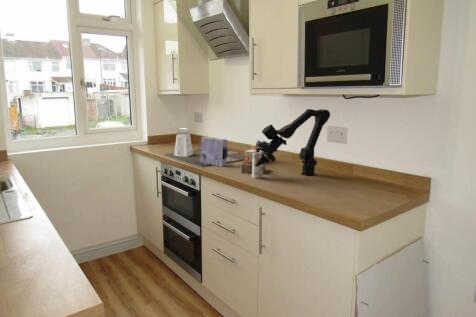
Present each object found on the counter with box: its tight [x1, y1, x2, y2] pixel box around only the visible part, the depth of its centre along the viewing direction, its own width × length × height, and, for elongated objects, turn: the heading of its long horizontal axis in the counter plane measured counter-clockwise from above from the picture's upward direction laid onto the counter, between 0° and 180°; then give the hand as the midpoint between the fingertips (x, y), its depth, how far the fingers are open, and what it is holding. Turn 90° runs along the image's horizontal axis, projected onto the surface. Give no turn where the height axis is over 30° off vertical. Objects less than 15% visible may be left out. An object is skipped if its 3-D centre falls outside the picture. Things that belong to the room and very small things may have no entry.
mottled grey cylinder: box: [251, 152, 263, 179], centre depth 195 cm, size 5×4×14 cm
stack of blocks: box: [243, 143, 261, 163], centre depth 237 cm, size 21×6×12 cm, turn 150°
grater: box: [173, 127, 194, 158], centre depth 261 cm, size 10×10×20 cm
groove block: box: [241, 161, 267, 175], centre depth 212 cm, size 13×12×5 cm
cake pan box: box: [200, 136, 229, 168], centre depth 228 cm, size 19×5×18 cm, turn 57°
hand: (254, 165), depth 195 cm, fingers closed on mottled grey cylinder, 4 cm apart
